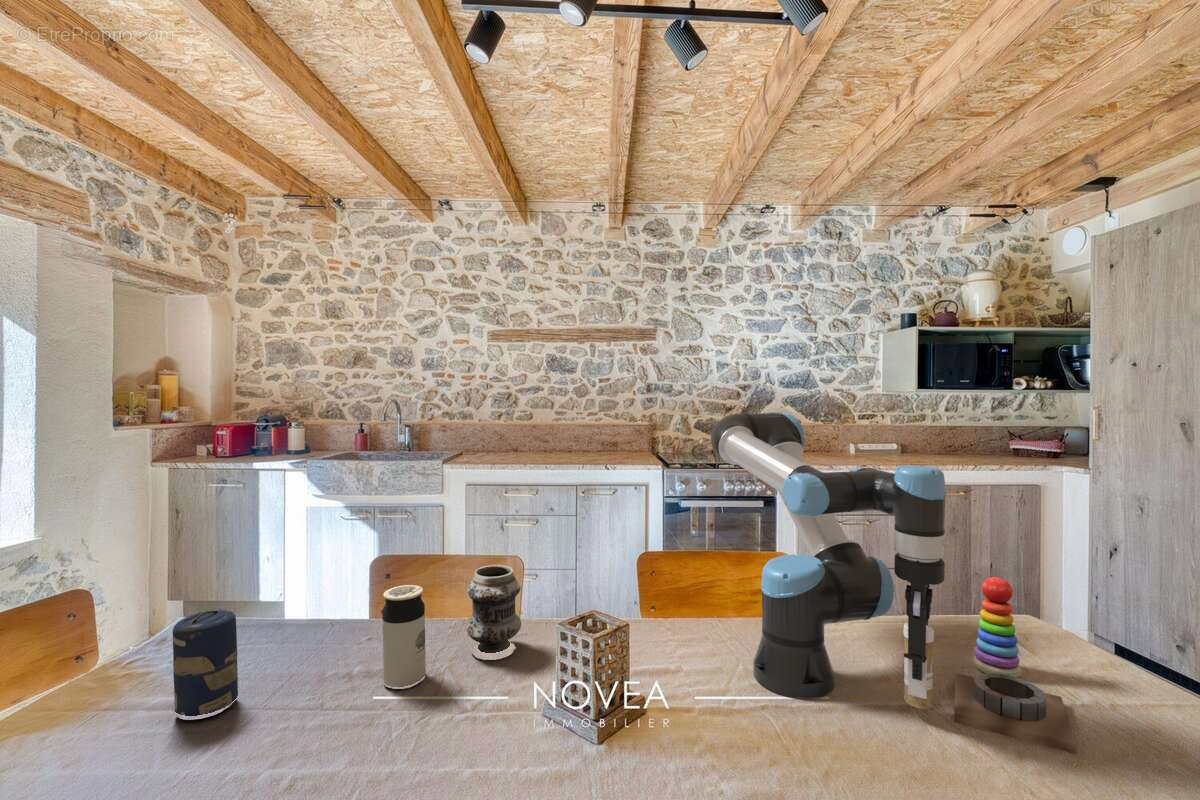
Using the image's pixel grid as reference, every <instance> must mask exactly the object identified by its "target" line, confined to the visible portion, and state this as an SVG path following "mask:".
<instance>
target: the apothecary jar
mask: <svg viewBox="0 0 1200 800" xmlns="http://www.w3.org/2000/svg"><path fill="white" fill-rule="evenodd" d="M473 574H474V576H473V579H472V580H471V581H470V582H469V583H468V584H467V587H466V594H467V596H468V598H470V599H471V600H472V605H471V606H472V610H471V617H470V618H468V620H467V622H466V625H465V626H466V627H465V629H466V633H467V635H468V636H469V637H470V638H471V640H474V641H475V642H477V643H480V644H479V645H478V649H479V650H480V651H481V652H485V653H496V652H500V651H503V650H505V649H507V648H508V647H509V646H510V642H509V641H510V640H511V639H513V638H514V637H515V636H516V635H517V634H518V633H519V631H520V630H521V628H522V627H521V626H522V621H521V618H520V616H519V615H518V614H517V613H516V597H517V596H518V595H519V594H520V591H521V588H522V587H521V582H520V581H519V580H518V578H517V577H516V576H515V573H514V569H513V568H512V567H511V566H508V565H505V564H504V565H502V564H492V565H490V564H489V565H484V566H482V567H479V568H477V569H475V571H474V573H473ZM508 640H509V641H508Z"/></svg>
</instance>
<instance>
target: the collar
mask: <svg viewBox="0 0 1200 800" xmlns="http://www.w3.org/2000/svg"><path fill="white" fill-rule="evenodd" d="M973 677H974V679H975V700H976V701H977V702H978V703H979V704H980V705H981V706H982V707H984V708H985V709H987V710H989V711H991V712H993V713H996V714H998V715H1000V716H1001V715H1002V716H1003V717H1006V718H1010V719H1014V720H1018V721H1020V720H1021V721H1033V722H1037V721H1040V720H1042V719H1044V718H1046V696H1045V693H1046V692H1045V691H1043V690H1042V689H1041V688H1039V687H1038V686H1036V685H1035V684H1033V683H1032V682H1029V681H1026V680H1024V679H1022V678H1019V677H1016V678H1015V677H1013V676H1008V675H1004V674H998V673H984V672H982V673H979V674H977V675H975V676H973ZM1002 694H1004V695H1002ZM1005 695H1008V696H1005ZM1009 696H1013V697H1016V698H1013V697H1009Z"/></svg>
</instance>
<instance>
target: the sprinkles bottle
mask: <svg viewBox="0 0 1200 800" xmlns="http://www.w3.org/2000/svg"><path fill="white" fill-rule="evenodd" d="M903 637H904V652H903V654H904V653H908V622H905V623H904V625H903ZM934 640H935V631H934V629H933V627H932V626H929V624H928V625H926V657H927V698H926V699H924V698H920V697H916V696H912V695H909V694H908V658H906V657H904V656H903V664H904V665H903V672H904V673H903V675H904V677H903V681H904V695H903V700H904V701H905V703H907V704H908V705H909V706H911V707H913V708H917V709H919V710H929V709H930V710H931V709H932V708H933V707H934V701H933V697H934V696H933V687H934V664H933V663H934V660H933V645H932V643H934Z"/></svg>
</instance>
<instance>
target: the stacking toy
mask: <svg viewBox="0 0 1200 800" xmlns="http://www.w3.org/2000/svg"><path fill="white" fill-rule="evenodd" d="M981 585H982V586H981V590H982V591H981V592H982V593H983V595H984V597H985V598H986V599H983V601H982V602H981V605H982V608H983V609H981V610H980V611H979V616H980V619H979V621H978V625H979V628H978V629H977V636H978V637H977V639H976V646H975V647H974V649H973V651H974V652H973V653H974V656H973V660H972V662H973V665H974V666H975V667H976V669H978V670H979V671H981V672H982V673H983V674H984V673H998V674H1004V675H1008V676H1013V677H1015V678H1019V677H1020V676H1021V675H1022V672H1023V671H1022V668H1021V667H1022V666H1021V665H1019V664H1020V657H1019V656H1018V655H1019V652H1020V650H1019V647H1018V645H1017V644H1018V637H1017V636H1016V634H1015V632H1016V627H1015V625H1014V623H1013V622H1014V616H1013V615H1012V612H1013V607H1012V605H1011V604H1010V603H1009V601H1010V600H1011V599H1012V597H1013V593H1014V592H1013V588H1012V586H1011V584H1010V583H1009V582H1008V581H1007V580H1005V579H1003V578H1001V577H998V576H997V577H996V576H991V577H987V578H986V579H985V580H984V581H983V582H982V584H981Z"/></svg>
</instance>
